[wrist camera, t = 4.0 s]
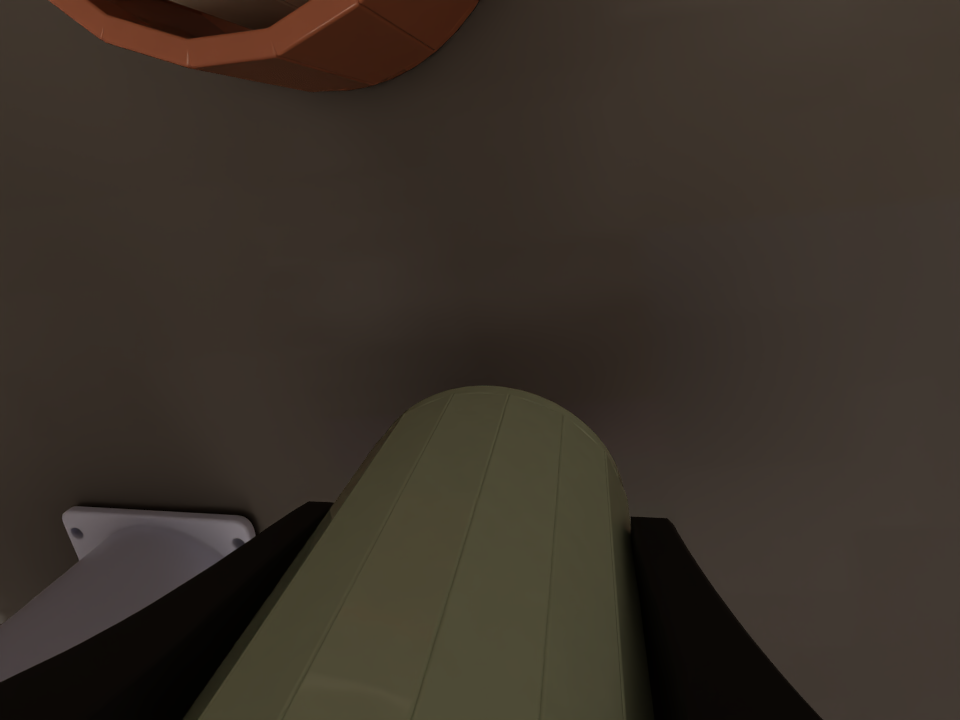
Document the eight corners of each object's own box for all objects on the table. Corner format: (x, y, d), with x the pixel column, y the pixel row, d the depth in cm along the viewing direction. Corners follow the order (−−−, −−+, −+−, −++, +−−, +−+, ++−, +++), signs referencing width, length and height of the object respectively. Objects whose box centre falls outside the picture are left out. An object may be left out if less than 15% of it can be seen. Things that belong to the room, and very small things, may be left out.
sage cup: (622, 609, 12) (667, 1132, 6) (389, 591, 13) (205, 1013, 7) (628, 384, 10) (705, 793, 4) (354, 384, 11) (46, 700, 5)
